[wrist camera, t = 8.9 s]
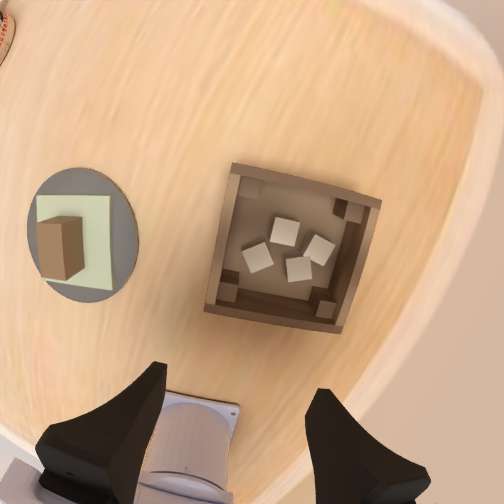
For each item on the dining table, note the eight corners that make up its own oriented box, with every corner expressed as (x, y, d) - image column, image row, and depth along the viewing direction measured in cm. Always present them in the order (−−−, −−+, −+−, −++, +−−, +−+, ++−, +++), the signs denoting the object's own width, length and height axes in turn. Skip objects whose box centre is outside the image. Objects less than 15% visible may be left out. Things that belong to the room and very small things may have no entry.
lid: (115, 287, 22) (96, 306, 18) (46, 277, 22) (23, 292, 18) (113, 195, 20) (90, 200, 17) (40, 194, 20) (13, 200, 16)
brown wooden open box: (325, 305, 23) (340, 334, 19) (211, 284, 23) (203, 311, 18) (356, 193, 21) (382, 200, 17) (235, 164, 20) (232, 162, 16)
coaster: (133, 313, 23) (130, 316, 23) (32, 283, 22) (28, 285, 22) (148, 177, 20) (145, 178, 20) (35, 162, 20) (31, 163, 19)
